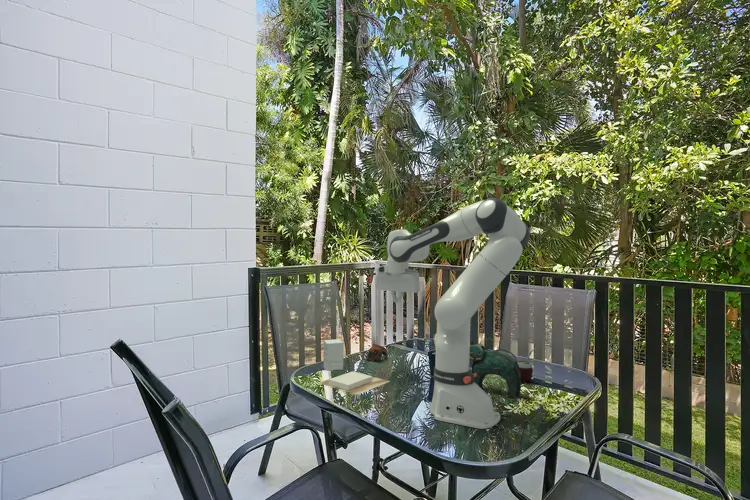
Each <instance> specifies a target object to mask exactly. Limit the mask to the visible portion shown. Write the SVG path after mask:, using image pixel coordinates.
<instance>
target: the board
mask: <svg viewBox="0 0 750 500" xmlns="http://www.w3.org/2000/svg"><path fill="white" fill-rule="evenodd" d="M350 372H351V371H349V372H347V373H350ZM347 373H344V374H347ZM344 374H341V375H344ZM341 375H340V374H339V375H337V376H335V377H338V376H341ZM335 377H332V378H335ZM332 378H329V379H332ZM329 379H328V378H327V379H326V380H322V381H319V382H318V384H320V385H323V386H327V387H329V388H334V389H337V390H340V391H344V392H347V393H350V394H354V395H361V394H362V393H365V392H367V391H371V390H373V389H375V388H377V387H381V386H383V385H385V384H387V383H389V382H390V383H391V381H390V380H387V379H384V378H379V377H376V376H372V382H369V383H367V384H364V385H362V386H359V387H356V388H354V389H351V390H349V391H348V390H345V389H341V388H338V387H335V386H331V385H329Z"/></svg>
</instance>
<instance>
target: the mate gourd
mask: <svg viewBox="0 0 750 500" xmlns="http://www.w3.org/2000/svg"><path fill="white" fill-rule="evenodd" d="M536 350H537V347H535V348H533V349H532V350H530V351H529V353H528V355H527V359H526V360H517V363H518V365H519V369H520V375H521V384H522V385H526V383H528V384H531V383H532V378H533V369H534V368H533V366H532V364H531V363H530V361H529V359H530V357H531V355H532V352H534V351H536Z"/></svg>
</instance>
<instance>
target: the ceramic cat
mask: <svg viewBox="0 0 750 500" xmlns="http://www.w3.org/2000/svg"><path fill="white" fill-rule="evenodd" d="M487 340H490V341H491V342H492V343H495V341H494V340H493V339H492V338H491V337H490V338H489V337H488V338H486V339H485V340H484V344H481V343H477V344H476V343H475V342H474V341H470V361H472V364H471V365H472V366H471V372H472V373H473V374H474V373H477V374H476V375H477V376H476V375H475V376H476V377H474V382H475V383H476V384H477V385H478V386H479V387H480V388H481V389H483V387H484V384H483V383H484V379H485V377H486V376H487V375H497V376H499V377H501V378H503V379H504V380H505V382H506V385H507V389H508V393H509V394H508V395H509V397H510V398H513V399H518V398H519V397H520V393H521V387H522V382H521V375H520V369H519V365H518V363H517V361H518V360H517V357H516V356H515V354H514V353H512V352H511V351H509V350H506V349H504V348H503V349H502V348H500V349H499V348H498V349H494V350H492V349H489V348H488V347H487V346H486V341H487Z"/></svg>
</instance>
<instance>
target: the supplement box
mask: <svg viewBox="0 0 750 500" xmlns="http://www.w3.org/2000/svg"><path fill="white" fill-rule="evenodd" d="M323 369H324V371H327V372H328V371H339V370H344V342H343V341H342V340H341V339H340V338H337V339H335V338H334V339H324V340H323Z"/></svg>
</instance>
